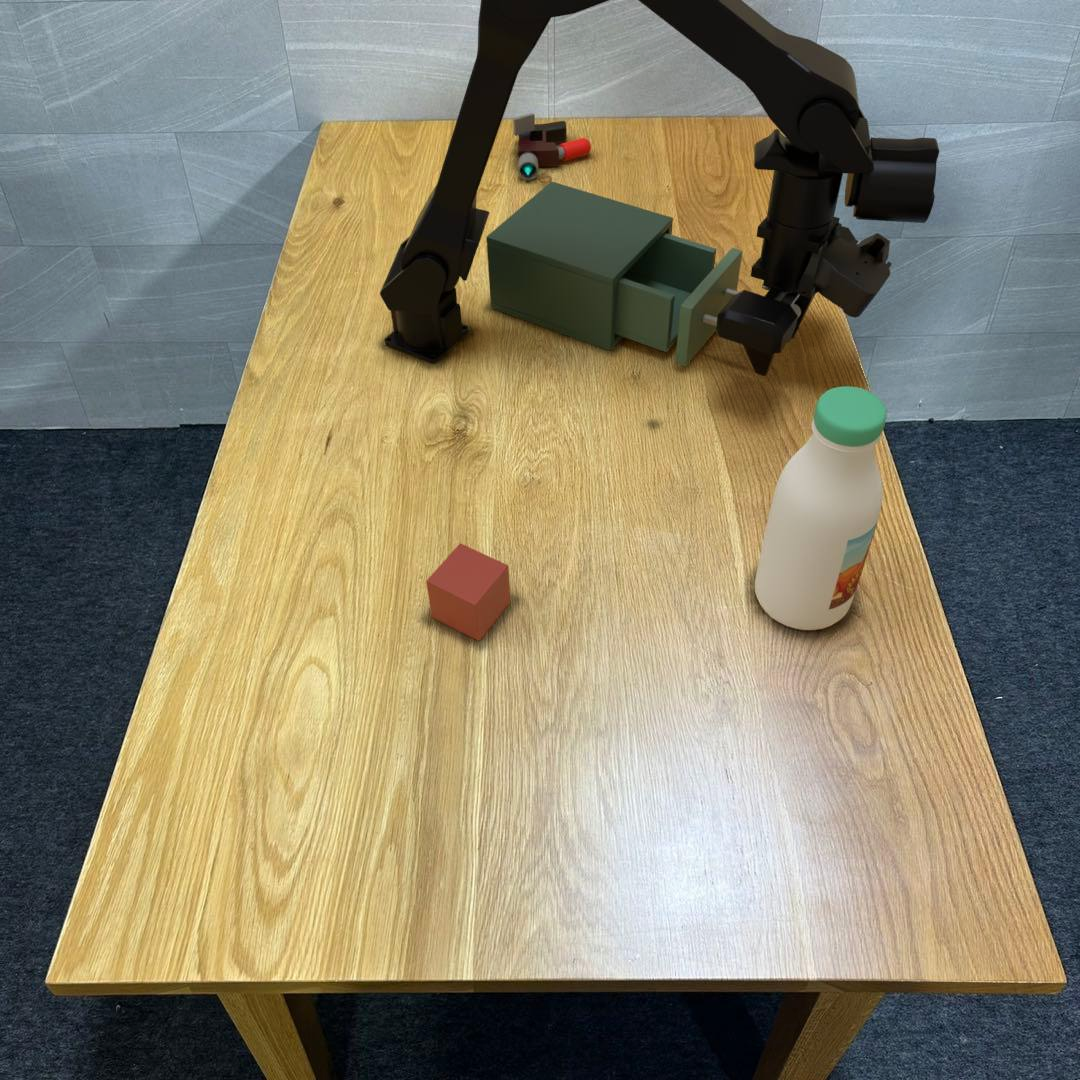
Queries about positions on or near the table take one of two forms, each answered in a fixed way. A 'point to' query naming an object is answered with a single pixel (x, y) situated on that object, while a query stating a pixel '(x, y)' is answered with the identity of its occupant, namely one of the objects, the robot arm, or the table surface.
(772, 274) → the robot arm
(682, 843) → the table surface
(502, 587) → the block
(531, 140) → the toy gun
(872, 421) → the milk bottle
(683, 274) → the drawer
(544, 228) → the cabinet
